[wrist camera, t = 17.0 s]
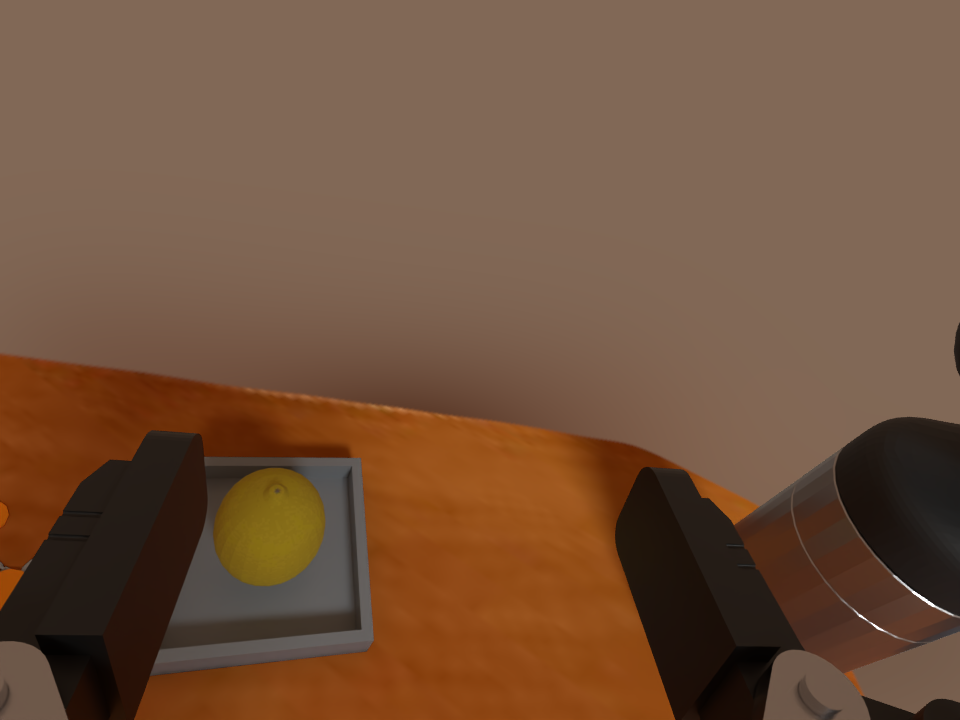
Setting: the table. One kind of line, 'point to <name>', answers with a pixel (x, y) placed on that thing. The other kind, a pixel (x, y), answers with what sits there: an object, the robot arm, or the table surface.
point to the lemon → (269, 527)
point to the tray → (283, 607)
